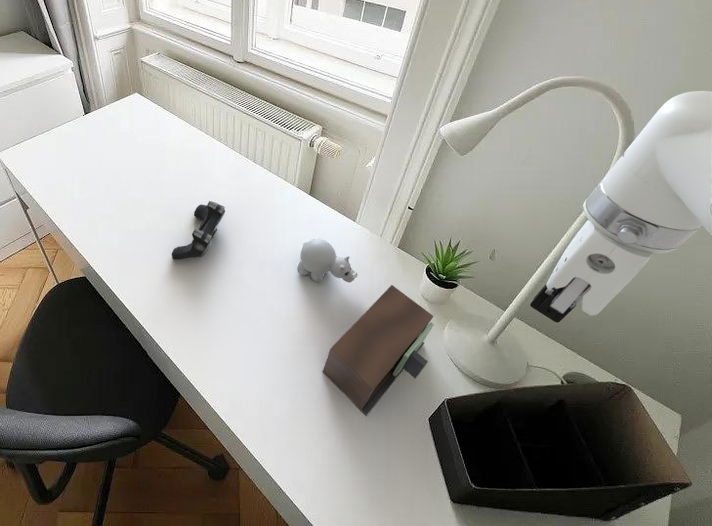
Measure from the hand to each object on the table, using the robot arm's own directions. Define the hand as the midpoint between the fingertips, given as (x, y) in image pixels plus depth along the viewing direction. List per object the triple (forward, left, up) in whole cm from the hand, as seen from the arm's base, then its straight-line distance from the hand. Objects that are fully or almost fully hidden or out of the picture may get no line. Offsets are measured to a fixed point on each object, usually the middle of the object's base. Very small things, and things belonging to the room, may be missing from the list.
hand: (545, 310), depth 51 cm
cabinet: (+14, +7, -27) cm, 31 cm away
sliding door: (+8, +3, -26) cm, 27 cm away
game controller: (+55, +14, -27) cm, 63 cm away
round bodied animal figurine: (+30, 0, -27) cm, 40 cm away
